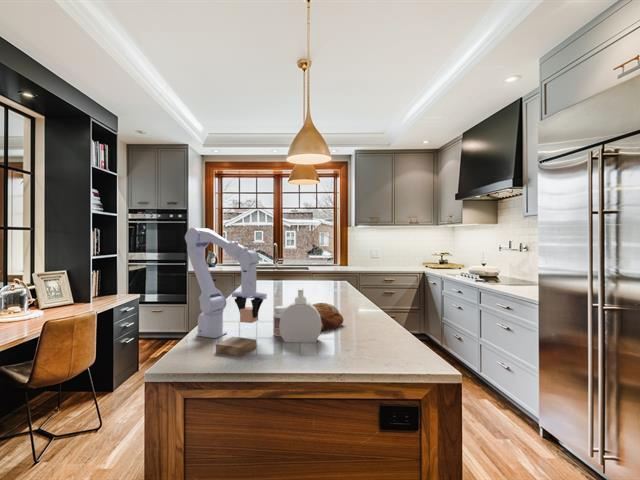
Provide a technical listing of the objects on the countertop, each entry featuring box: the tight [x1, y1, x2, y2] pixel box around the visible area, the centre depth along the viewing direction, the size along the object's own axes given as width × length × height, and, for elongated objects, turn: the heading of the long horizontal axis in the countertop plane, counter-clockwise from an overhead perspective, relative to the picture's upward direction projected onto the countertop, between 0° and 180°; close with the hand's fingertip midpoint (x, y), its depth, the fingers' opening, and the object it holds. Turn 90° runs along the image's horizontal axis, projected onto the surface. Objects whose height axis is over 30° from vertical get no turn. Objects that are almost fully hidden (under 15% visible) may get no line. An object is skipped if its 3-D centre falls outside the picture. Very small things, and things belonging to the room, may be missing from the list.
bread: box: [312, 302, 344, 332], centre depth 164 cm, size 20×18×10 cm
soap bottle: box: [279, 288, 321, 344], centre depth 141 cm, size 16×5×20 cm, turn 89°
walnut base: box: [215, 336, 257, 357], centre depth 130 cm, size 10×10×3 cm
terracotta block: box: [239, 306, 259, 324], centre depth 143 cm, size 5×5×5 cm
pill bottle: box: [273, 305, 287, 337], centre depth 150 cm, size 6×6×11 cm
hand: (248, 316), depth 143 cm, fingers closed on terracotta block, 5 cm apart
